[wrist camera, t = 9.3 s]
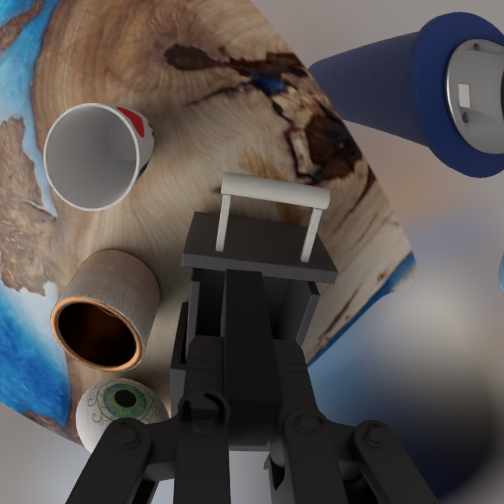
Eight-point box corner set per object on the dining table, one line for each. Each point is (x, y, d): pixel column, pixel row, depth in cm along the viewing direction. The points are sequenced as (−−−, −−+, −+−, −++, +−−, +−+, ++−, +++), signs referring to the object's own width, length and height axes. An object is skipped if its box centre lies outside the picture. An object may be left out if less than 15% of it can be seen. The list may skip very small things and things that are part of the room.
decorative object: (188, 380, 45) (180, 465, 32) (160, 420, 51) (152, 489, 38) (97, 344, 41) (65, 426, 28) (85, 392, 47) (64, 460, 34)
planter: (96, 320, 39) (73, 371, 30) (69, 251, 34) (33, 297, 25) (169, 318, 39) (157, 374, 31) (150, 242, 34) (126, 292, 25)
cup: (173, 169, 30) (149, 202, 21) (101, 182, 30) (58, 218, 21) (161, 91, 26) (129, 90, 18) (87, 109, 26) (34, 120, 18)
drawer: (202, 150, 29) (190, 171, 21) (329, 171, 30) (361, 200, 22) (184, 332, 39) (176, 386, 31) (280, 341, 41) (289, 394, 33)
